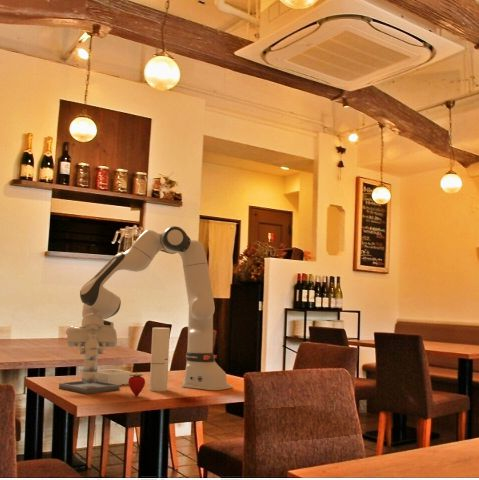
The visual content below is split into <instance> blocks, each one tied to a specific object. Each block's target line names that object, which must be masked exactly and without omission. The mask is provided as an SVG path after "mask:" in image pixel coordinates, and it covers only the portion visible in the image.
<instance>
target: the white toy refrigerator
mask: <svg viewBox="0 0 479 480" xmlns="http://www.w3.org/2000/svg"><path fill="white" fill-rule="evenodd" d="M170 330H171V329H170V327H152V331H151V348H150V353H151V354H150V374H149V390H148V391H151V392H166V391H168V380H169V352H170V334H171V333H170Z"/></svg>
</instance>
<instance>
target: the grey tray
mask: <svg viewBox="0 0 479 480" xmlns="http://www.w3.org/2000/svg"><path fill="white" fill-rule="evenodd" d="M120 386H121V385H118V384H113V383H108V382H102V381H97V382H95V383H91V384H88V383H84V382H83V381H82V380H77V381H68V382H67V381H66V382H59V383H58V389H59V390H60V389H61V390H65V391H71V392H76V393H79V394H84V395H88V394H89V395H90V394H91V395H92V394H97V393H105V392H113V391H119V390H120Z"/></svg>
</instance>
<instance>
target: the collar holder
mask: <svg viewBox="0 0 479 480" xmlns="http://www.w3.org/2000/svg"><path fill="white" fill-rule="evenodd" d="M130 375H132V371H128V370H121V369H116V368H111V369H100V370H99V369H98V380H97V381H102V382H108V383H113V384H118V385H120V386H123V385H122V384H124V385H129V379H130V377H132V376H130Z"/></svg>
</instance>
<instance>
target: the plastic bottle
mask: <svg viewBox="0 0 479 480" xmlns="http://www.w3.org/2000/svg"><path fill="white" fill-rule="evenodd" d="M96 338H97V333H88V340H87V341H86V343H85V344H84V347H83V348H84V354H83V355H84V357H83V359H84V360H83V368H82V370H83V371H82V373H81V381H83V382H84V383H88V384H91V383H95V382H97V380H98V370H99V369H98V363H99V362H98V361H99V360H98V359H99V355H100V354H99V349H100V348H101V347H100V345H99V342H98V341H97V339H96Z"/></svg>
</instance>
